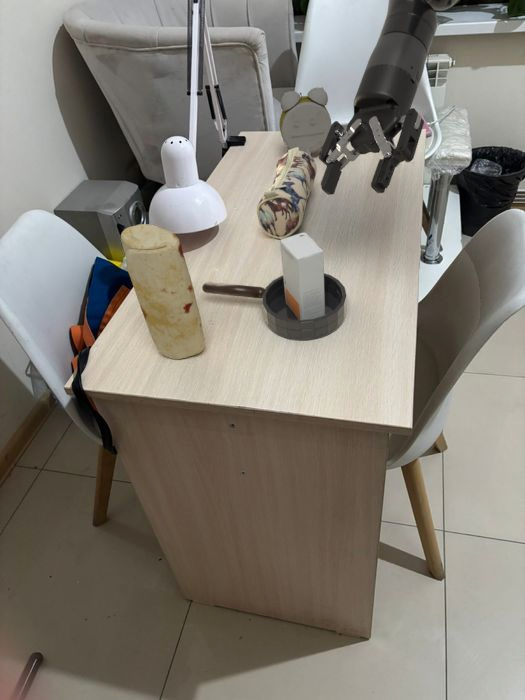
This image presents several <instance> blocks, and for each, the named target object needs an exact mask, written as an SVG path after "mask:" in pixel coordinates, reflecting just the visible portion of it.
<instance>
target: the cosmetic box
mask: <svg viewBox="0 0 525 700" xmlns="http://www.w3.org/2000/svg"><path fill="white" fill-rule="evenodd" d="M279 244H280V246H279V247H280V255H281V266H282V267H281V268H282V275H283V278H284V289H285V300H286V304H287V305H288V306H289V308H290V309H291V310H292V312H293V313H294V314H295V316H296V317H297V318H298V320H309V319H315V318H318V317H322V316H325V297H324V273H325V268H324V267H325V265H324V264H325V263H324V250H323V249H322V248H321V247H320V246H319V245H318V243H317V242H316V241H315V240H314V239H313V238H311V237H310V235H308V234H307V233H306V232H305V231H304V232H303V231H302V232H300V233H297V234H294V235H290V236H289V237H287V238H284V239H279Z"/></svg>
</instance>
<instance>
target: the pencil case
mask: <svg viewBox="0 0 525 700" xmlns="http://www.w3.org/2000/svg"><path fill="white" fill-rule="evenodd" d="M317 168H318V167H317V163H316V161H315V160H314V158H313V157H312V155H311V156H310V155H309V154H307V153H306V152H303V151H299V148H298V147H296V148H293V149H290V150H288V153H286V152H285V153H284V154H282V155H281V156H280V157H279V158H278V160H277V162H276V165H275V176H274V178H273V181H272V186H271V187H270V188H269V190H267V191H263V192H262V193H263V196H262V197H261V199H260V200H259V202H258V204H257V206H256V215H257V220H258V223H259V225H260V228H261V230H262V231H263V232H264V233H265V235H267V236H269V237H271V238H273V239H278V240H282V239H284V238H287V237H290V236H293V234H294V233H296V232H297V231H298V230H299V228H300V227H301V225H302V223H303V219H304V215H305V212H306V211H305V210H306V207H307V202H308V199H309V197H310V194H311V191H312V188H313V185H314V183H315V179H316V175H317Z"/></svg>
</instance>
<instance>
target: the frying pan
mask: <svg viewBox="0 0 525 700" xmlns="http://www.w3.org/2000/svg"><path fill="white" fill-rule="evenodd" d="M264 289H265V292H264V293H263V294H262V298H261V304H262V305H261V306H262V312H263V313H262V314H263V319H264V321H265V324H266V326H267V327H268V329H269V330H270V331H271V332H272V333H274V334H276V335H277V336H279V337H281V338H283V339H286V340H287V339H288V340H292V341H299V342H300V341H302V342H303V341H305V342H306V341H314V340H317V339H318V340H319V339H322V338H325V337H327V336H329V335H331V334H333V333H334V332H336V331H337V330H338V329H339V328H340V327H341V326H342V325H343V323H344V322H345V320H346V315H347V296H348V295H347V290H346V287H345V286H344V285H343V283H342V281H340V280H339V279H338V278H336V277H335V276H333V275H331V274H328V273H325V272H324V297H325V316H322V317H318V318H315V319H309V320H298V318H297V317H296V316H295V314H294V313H293V312H292V310H291V309H290V308H289V306H288V305H287V304H286V300H285V289H284V278H283V274H282V275H280V276H279V277H276V278H275V279H273V280H272V281H270V283H269V284H267V285H266V287H265V288H264Z"/></svg>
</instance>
